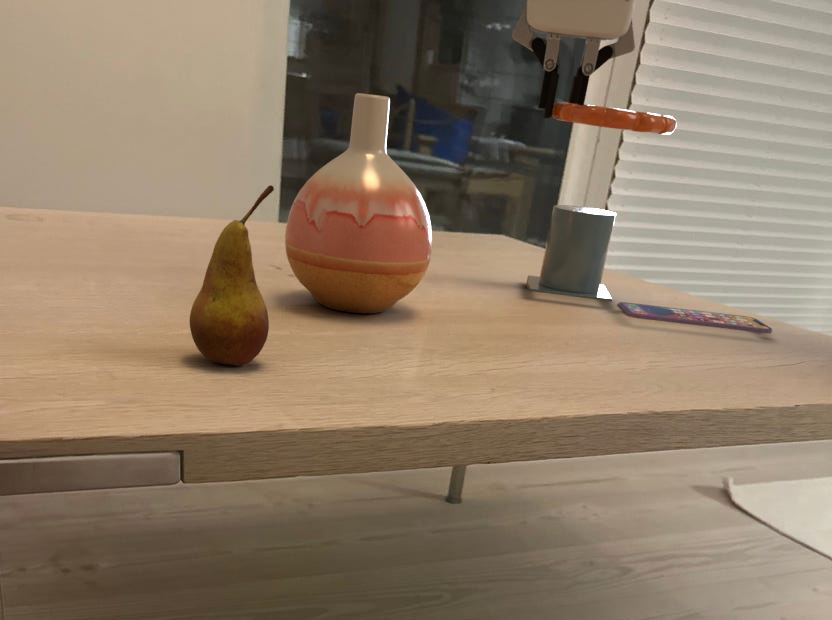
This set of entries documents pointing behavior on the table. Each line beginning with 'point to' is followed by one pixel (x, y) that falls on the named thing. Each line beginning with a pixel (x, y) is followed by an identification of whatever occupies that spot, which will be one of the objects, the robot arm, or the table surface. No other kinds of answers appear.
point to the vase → (360, 223)
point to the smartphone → (694, 317)
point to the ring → (613, 118)
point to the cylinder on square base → (575, 253)
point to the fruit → (231, 300)
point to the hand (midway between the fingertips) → (558, 118)
